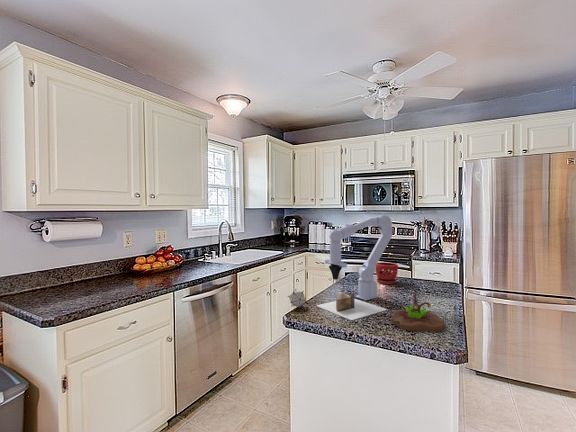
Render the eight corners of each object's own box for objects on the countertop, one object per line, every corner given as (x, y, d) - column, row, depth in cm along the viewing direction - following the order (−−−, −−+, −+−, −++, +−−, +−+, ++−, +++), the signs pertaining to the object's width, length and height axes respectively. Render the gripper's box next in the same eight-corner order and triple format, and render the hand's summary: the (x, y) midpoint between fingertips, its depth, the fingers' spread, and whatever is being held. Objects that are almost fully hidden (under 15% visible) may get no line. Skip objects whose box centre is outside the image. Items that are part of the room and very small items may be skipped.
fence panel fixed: (355, 307, 144) (355, 294, 144) (352, 308, 143) (352, 294, 143) (339, 302, 153) (339, 289, 153) (337, 302, 152) (337, 289, 152)
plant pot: (400, 285, 186) (400, 265, 186) (378, 285, 186) (378, 265, 186) (393, 280, 199) (393, 261, 199) (373, 280, 199) (373, 261, 199)
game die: (296, 316, 145) (286, 302, 140) (291, 304, 152) (282, 291, 148) (312, 306, 145) (304, 292, 140) (307, 295, 153) (298, 281, 148)
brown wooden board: (349, 307, 144) (349, 296, 144) (351, 307, 144) (351, 296, 143) (336, 310, 140) (336, 299, 140) (337, 310, 139) (337, 299, 139)
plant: (434, 315, 135) (434, 290, 135) (450, 334, 116) (451, 304, 116) (387, 313, 139) (387, 288, 138) (394, 330, 119) (395, 301, 119)
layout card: (350, 297, 161) (350, 297, 161) (387, 310, 142) (387, 309, 142) (316, 306, 148) (316, 305, 148) (351, 320, 129) (351, 319, 129)
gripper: (320, 252, 165) (320, 277, 166) (339, 255, 153) (339, 283, 154) (330, 251, 169) (330, 275, 170) (349, 254, 157) (349, 281, 158)
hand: (335, 279), depth 162 cm, fingers closed
